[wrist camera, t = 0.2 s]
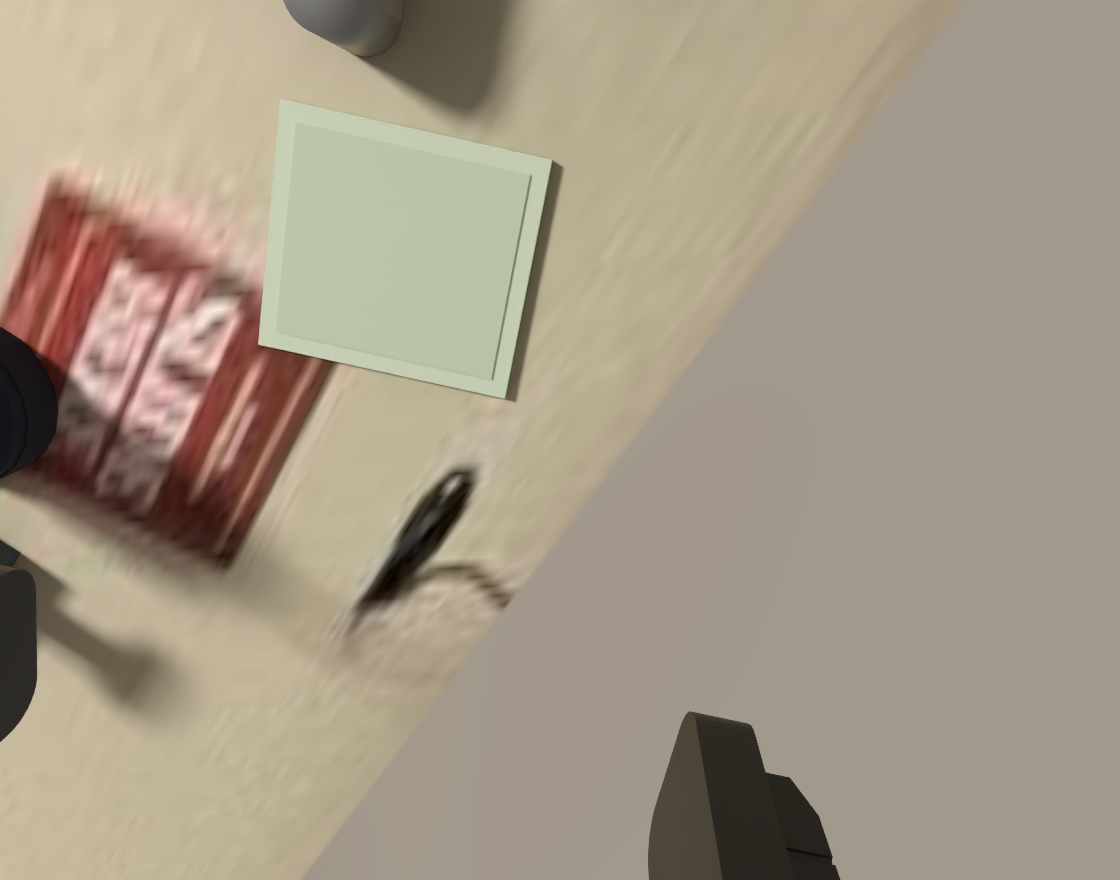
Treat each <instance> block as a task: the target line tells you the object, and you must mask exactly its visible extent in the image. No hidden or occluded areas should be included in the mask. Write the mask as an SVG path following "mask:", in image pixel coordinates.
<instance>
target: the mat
mask: <svg viewBox="0 0 1120 880" xmlns="http://www.w3.org/2000/svg"><path fill="white" fill-rule="evenodd" d="M552 161H553V160H550V159H545V158H541V157H536V156H532V155H528V154H523V153H519V152H514V151H510V150H505V149H501V148H497V147H492V146H488V145H483V144H479V143H475V142H470V141H466V140H461V139H457V138H452V137H448V136H444V135H439V134H435V133H430V132H426V131H421V130H417V129H413V128H408V127H404V126H399V125H395V124H391V123H386V122H382V121H377V120H373V119H368V118H364V117H360V116H355V115H351V114H346V113H342V112H337V111H333V110H329V109H324V108H320V107H315V106H311V105H307V104H302V103H298V102H293V101H289V100H284V99H280V107H279V118H278V129H277V140H276V152H275V163H274V174H273V185H272V196H271V208H270V219H269V230H268V241H267V252H266V263H265V275H264V286H263V297H262V308H261V319H260V331H259V342H258V345H263V346H267V347H272V348H276V349H281V350H286V351H290V352H295V353H299V354H304V355H308V356H313V357H317V358H322V359H326V360H331V361H336V362H340V363H345V364H349V365H354V366H358V367H363V368H367V369H372V370H376V371H381V372H386V373H390V374H395V375H399V376H404V377H408V378H413V379H417V380H422V381H426V382H431V383H436V384H440V385H445V386H449V387H454V388H458V389H463V390H467V391H472V392H476V393H481V394H486V395H490V396H495V397H499V398H504V399H505V397H506V393H507V388H508V383H509V378H510V373H511V368H512V363H513V358H514V353H515V348H516V343H517V338H518V333H519V328H520V323H521V318H522V313H523V308H524V303H525V297H526V292H527V287H528V282H529V277H530V272H531V267H532V262H533V257H534V252H535V247H536V242H537V237H538V232H539V227H540V222H541V217H542V212H543V207H544V202H545V197H546V192H547V186H548V181H549V176H550V171H551V166H552Z"/></svg>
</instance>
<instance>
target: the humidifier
mask: <svg viewBox="0 0 1120 880" xmlns="http://www.w3.org/2000/svg"><path fill="white" fill-rule="evenodd" d="M57 416H58V406H57V401H56V396H55V392H54V387H53V384H52V382H51V380H50V378H49V376H48V375H47V373H46V371H45V369H44V367H43V365H42V363H41V362H40V360H39V359H38V358H37V357H36V356H35V355H34V354H33V353H32V352H31V351H30V349H29V348H28V347H27V346H26V345H25V344H24V343H23V342H22V341H21V340H20V339H18V338H17V337H15V336H14V335H12V334H10V333H9V332H7V331H6V330H4V329H3V328H1V327H0V479H2V478H4V477H6V476H8V475H10V474H12V473H14V472H16V471H18V470H20V469H22V468H24V467H26V466H28V465H30V464H31V463H32V462H33V461H35V460H36V459H37V458H38V457H39V456H41V455H42V454H43V453H44V452H46V450H47V448H48V446H49V444H50V442H51V440H52V438H53V437H54V435H55V433H56V425H57Z"/></svg>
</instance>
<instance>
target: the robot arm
mask: <svg viewBox="0 0 1120 880" xmlns="http://www.w3.org/2000/svg"><path fill="white" fill-rule="evenodd" d="M36 682H37V638H36V588H35V582H34V579H33V577H32V575H31V574H30V573H29V572H27V571H25V570H22V569H18V568H13V567H8V566H3V565H0V742H1V741H2V740H3V739H4V738H5V737H6V736H7V735H8V734H9V733H10V732H11V731H12V730H13V729H14V728H15V727H16V726H17V724H18V723H19V722H20V720H21V719H22V717H23V716H24V714H25V712H26V711H27V709H28V707H29V705H30V702H31V700H32V697H33V695H34V691H35V688H36ZM648 850H649V851H648V869H649V880H840V878H839V875H838V872H837V869H836V866H835V865H832V854H831V851H830V848H829V845H828V842H827V839H826V836H825V833H824V830H823V827H822V825H821V821H820V818H819V816H818V814H817V813H816V812H815V810H814V809H813V808H812V806H811V805H810V804H809V803H808V801H807V800H806V798H805V797H804V796H803V794H802V793H801V792H800V791H799V789H798V788H797V787H796V785H795V784H794V783H793V781H792V780H791V779H790V778H789V777H784V776H780V775H775V774H770V773H765V769H764V765H763V762H762V758H761V754H760V751H759V747H758V743H757V740H756V737H755V733H754V730H753V728H752V726H751V725H750V724H747V723H743V722H738V721H733V720H728V719H723V718H719V717H714V716H709V715H704V714H699V713H695V712H688V713H687V714H686V715H685V717H684V719H683V721H682V724H681V727H680V730H679V733H678V736H677V739H676V743H675V746H674V749H673V752H672V755H671V758H670V762H669V765H668V768H667V771H666V774H665V778H664V781H663V784H662V787H661V790H660V793H659V796H658V800H657V803H656V806H655V810H654V814H653V818H652V824H651V830H650V837H649V849H648Z"/></svg>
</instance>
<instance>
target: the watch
mask: <svg viewBox="0 0 1120 880" xmlns="http://www.w3.org/2000/svg"><path fill="white" fill-rule="evenodd" d="M19 555H20V553H19V552H18V551H16V550H15V549H13V548H12V547H10V546H8V545H7V544H5V543H4V542H2V541H1V540H0V565H3V566H8V567H13V565H14V563H15V562H16V560H17V558H18V557H19Z"/></svg>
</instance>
